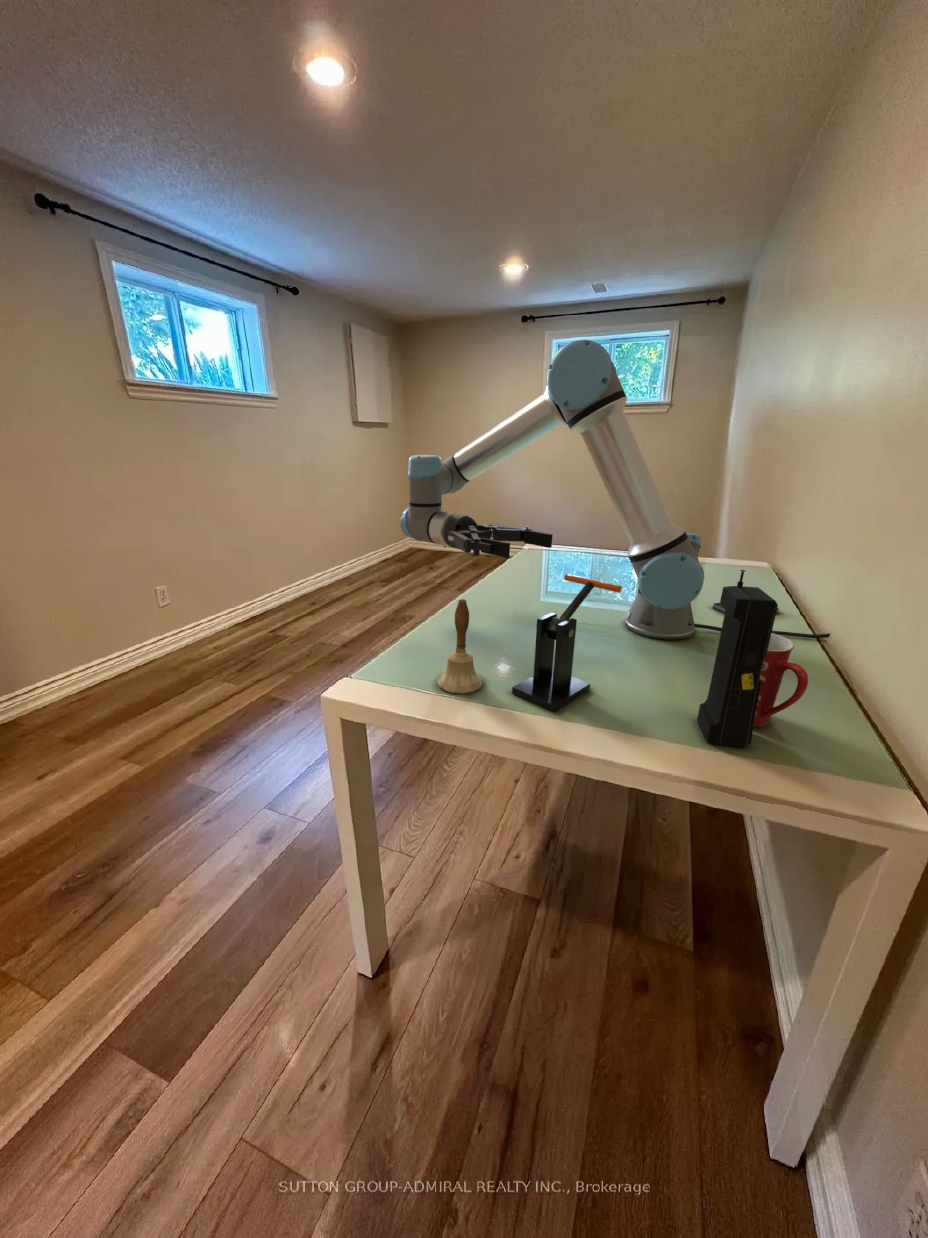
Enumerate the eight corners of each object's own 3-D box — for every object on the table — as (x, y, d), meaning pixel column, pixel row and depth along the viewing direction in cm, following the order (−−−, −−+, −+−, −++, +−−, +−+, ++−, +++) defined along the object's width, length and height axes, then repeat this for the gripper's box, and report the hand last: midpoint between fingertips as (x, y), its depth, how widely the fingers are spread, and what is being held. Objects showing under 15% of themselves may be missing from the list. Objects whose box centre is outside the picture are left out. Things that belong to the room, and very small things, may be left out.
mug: (699, 706, 83) (714, 631, 78) (741, 698, 85) (757, 625, 81) (763, 748, 71) (785, 664, 67) (809, 737, 74) (833, 656, 70)
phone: (711, 603, 132) (757, 599, 135) (710, 607, 132) (756, 603, 135) (732, 612, 124) (781, 608, 128) (732, 617, 125) (780, 612, 128)
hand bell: (472, 670, 95) (474, 591, 89) (489, 689, 87) (492, 604, 82) (431, 676, 92) (430, 595, 86) (445, 697, 85) (445, 610, 79)
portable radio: (753, 754, 70) (795, 586, 62) (708, 748, 71) (743, 583, 63) (736, 724, 77) (772, 570, 69) (696, 720, 78) (725, 568, 70)
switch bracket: (548, 673, 94) (553, 605, 89) (589, 690, 88) (597, 617, 83) (511, 693, 86) (515, 620, 81) (554, 712, 80) (561, 634, 76)
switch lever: (568, 579, 92) (566, 570, 91) (622, 592, 85) (620, 581, 84) (527, 630, 87) (523, 621, 85) (581, 648, 79) (578, 638, 78)
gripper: (490, 540, 119) (564, 555, 105) (411, 555, 102) (487, 575, 88) (491, 508, 116) (568, 519, 102) (410, 519, 99) (488, 533, 85)
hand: (530, 545), depth 95 cm, fingers open, 13 cm apart
